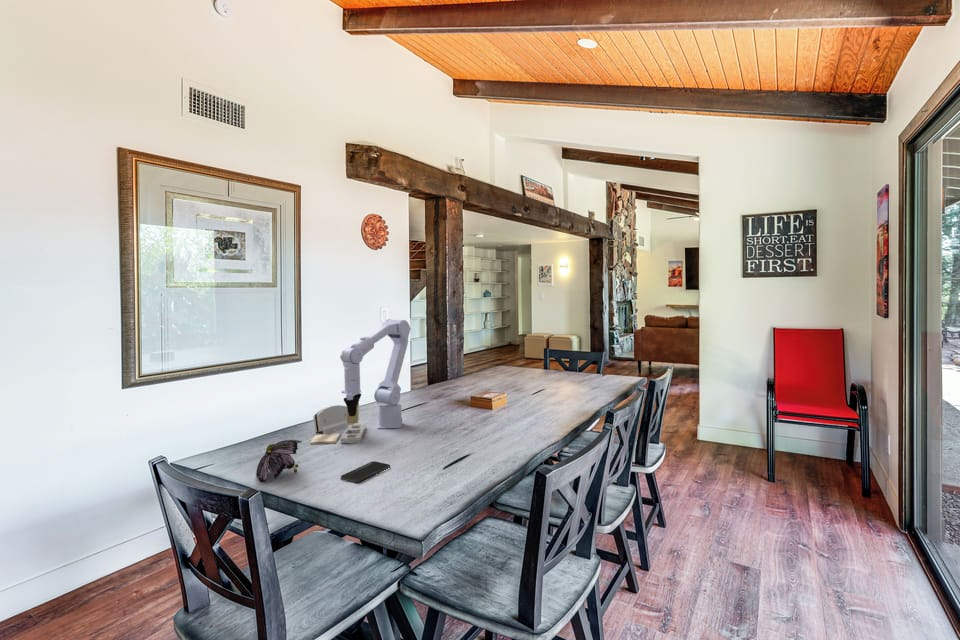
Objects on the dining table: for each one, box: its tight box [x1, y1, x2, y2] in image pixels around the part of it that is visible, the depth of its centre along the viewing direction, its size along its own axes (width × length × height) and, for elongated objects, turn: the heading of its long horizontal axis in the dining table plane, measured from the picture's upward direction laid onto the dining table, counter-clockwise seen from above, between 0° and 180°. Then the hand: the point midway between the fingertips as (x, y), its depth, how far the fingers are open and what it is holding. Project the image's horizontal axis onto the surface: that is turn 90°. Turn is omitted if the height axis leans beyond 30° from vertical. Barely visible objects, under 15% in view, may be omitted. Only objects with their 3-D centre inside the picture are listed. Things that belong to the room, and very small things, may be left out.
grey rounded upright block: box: [313, 404, 356, 435], centre depth 202 cm, size 17×5×10 cm, turn 148°
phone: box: [340, 461, 391, 484], centre depth 153 cm, size 8×1×15 cm
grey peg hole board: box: [340, 423, 367, 444], centre depth 191 cm, size 7×18×2 cm, turn 6°
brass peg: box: [347, 403, 360, 424], centre depth 189 cm, size 4×4×6 cm
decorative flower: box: [255, 439, 303, 483], centre depth 152 cm, size 14×12×15 cm
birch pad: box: [310, 433, 341, 445], centre depth 186 cm, size 9×9×1 cm
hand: (353, 414), depth 189 cm, fingers closed on brass peg, 4 cm apart
